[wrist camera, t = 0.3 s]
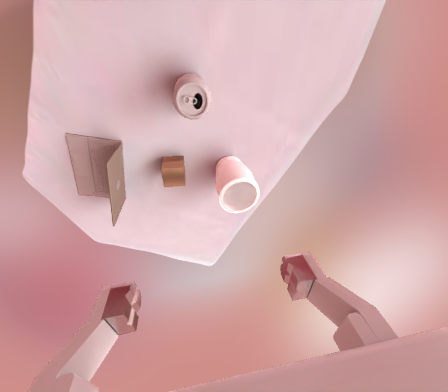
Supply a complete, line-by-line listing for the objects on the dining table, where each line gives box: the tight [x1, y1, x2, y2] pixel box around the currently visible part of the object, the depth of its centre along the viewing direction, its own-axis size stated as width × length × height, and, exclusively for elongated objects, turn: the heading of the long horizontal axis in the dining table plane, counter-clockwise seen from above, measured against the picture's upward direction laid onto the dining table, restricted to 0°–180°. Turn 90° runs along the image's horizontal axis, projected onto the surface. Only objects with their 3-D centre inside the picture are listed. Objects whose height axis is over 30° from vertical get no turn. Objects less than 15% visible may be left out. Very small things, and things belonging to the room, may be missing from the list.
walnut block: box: [161, 156, 185, 187], centre depth 54 cm, size 6×6×7 cm
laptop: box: [66, 134, 126, 226], centre depth 49 cm, size 18×12×13 cm
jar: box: [216, 156, 260, 213], centre depth 54 cm, size 11×10×15 cm
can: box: [173, 73, 211, 119], centre depth 42 cm, size 8×8×12 cm
